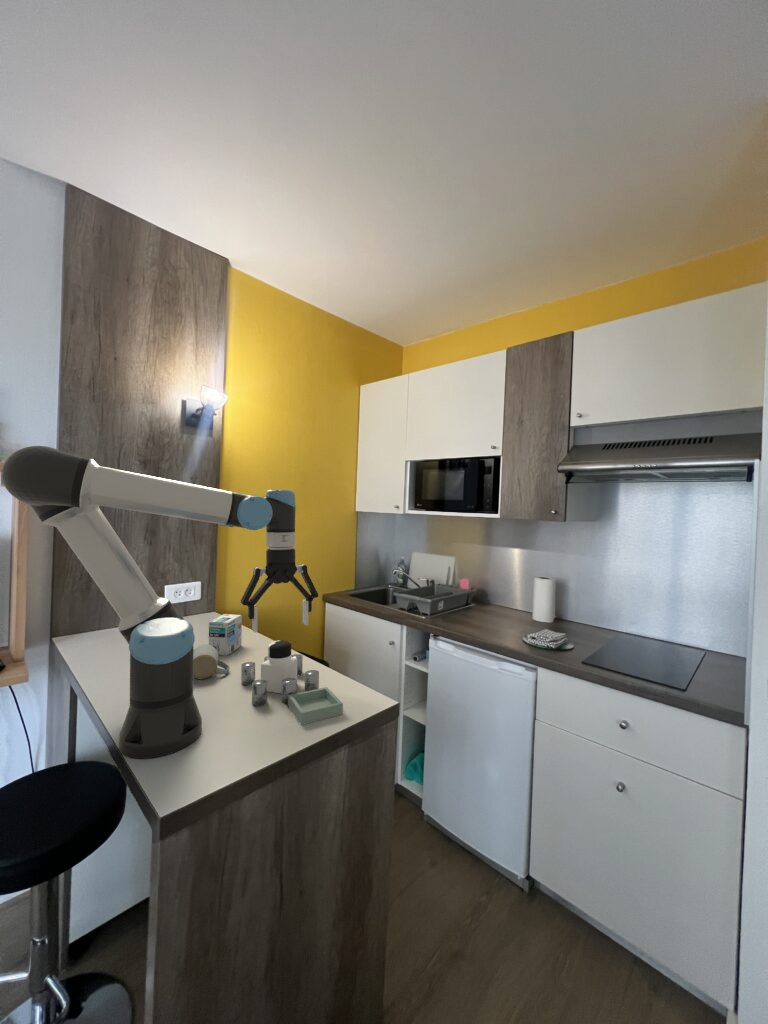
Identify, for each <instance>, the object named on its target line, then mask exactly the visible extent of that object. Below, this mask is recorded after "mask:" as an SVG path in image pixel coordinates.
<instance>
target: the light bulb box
mask: <svg viewBox="0 0 768 1024" xmlns="http://www.w3.org/2000/svg"><path fill="white" fill-rule="evenodd" d="M242 625H243V615H242V614H232V613H231V614H228V613H224V614H221V615H220V616H218V617H216V618H214V619H212V620H210V621H208V645H211V646H213V647H214V648H215V649H216V650H217V652H218V656H229V655H230V654H232V653H233V652H234V651H235V650H237V649H238V648H240V647H242V637H243V636H242V633H243V632H242V631H243V630H242V627H243V626H242Z"/></svg>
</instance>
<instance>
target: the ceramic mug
mask: <svg viewBox="0 0 768 1024" xmlns="http://www.w3.org/2000/svg"><path fill="white" fill-rule="evenodd" d="M220 667H221V668H220ZM229 671H230V665H229V664H228V663H226V662H225V661H223V660H220V659H219V655H218V652H217V650H216V649H215V648H214V647H213V646H211V645H209V644H207V643H206V644H200V645H198V646H196V647H195V648H193V678H195V679H197V680H206V679H208V678H210V677H212V676H213V675H214V673H215V674H219V675H227V674H228V673H229Z"/></svg>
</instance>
